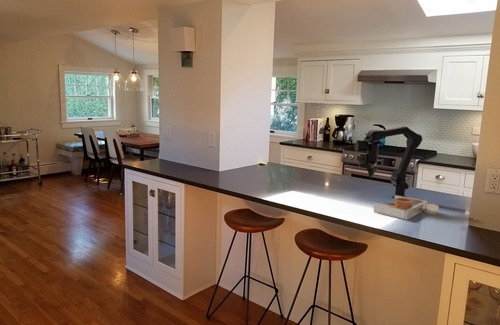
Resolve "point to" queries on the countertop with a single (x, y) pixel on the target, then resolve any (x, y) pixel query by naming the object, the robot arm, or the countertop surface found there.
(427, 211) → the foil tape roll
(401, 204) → the bracket
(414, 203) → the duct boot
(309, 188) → the countertop surface
